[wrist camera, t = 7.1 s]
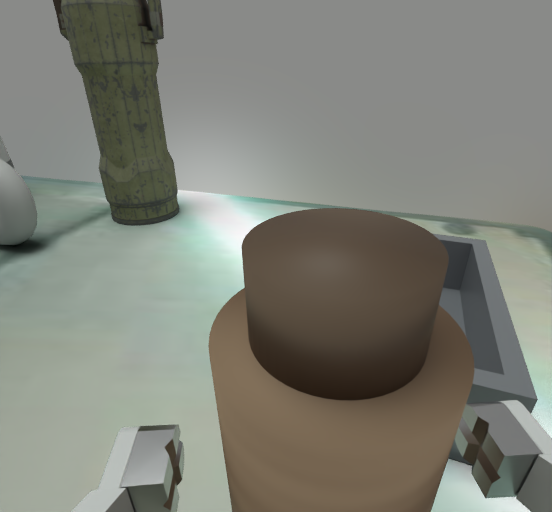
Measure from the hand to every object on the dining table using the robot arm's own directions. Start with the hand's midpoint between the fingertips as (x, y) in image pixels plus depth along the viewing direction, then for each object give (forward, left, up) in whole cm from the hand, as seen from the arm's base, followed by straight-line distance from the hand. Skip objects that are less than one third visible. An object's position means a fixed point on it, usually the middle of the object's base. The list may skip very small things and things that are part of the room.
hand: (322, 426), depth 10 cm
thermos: (+29, +32, -8) cm, 44 cm away
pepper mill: (-1, 0, -8) cm, 8 cm away
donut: (+16, +40, -8) cm, 44 cm away
